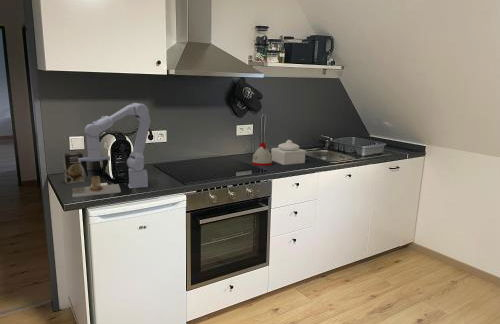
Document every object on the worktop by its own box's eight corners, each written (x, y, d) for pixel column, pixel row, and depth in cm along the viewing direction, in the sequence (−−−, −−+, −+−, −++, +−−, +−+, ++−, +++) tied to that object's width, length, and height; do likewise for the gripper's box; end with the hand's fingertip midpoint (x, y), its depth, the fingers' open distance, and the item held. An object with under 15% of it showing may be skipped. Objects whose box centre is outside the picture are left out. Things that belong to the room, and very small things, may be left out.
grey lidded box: (271, 160, 278) (271, 138, 275) (292, 158, 286) (293, 137, 283) (283, 165, 263) (284, 142, 260) (305, 163, 271) (306, 140, 268)
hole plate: (118, 187, 204) (118, 183, 203) (120, 193, 194) (120, 189, 193) (72, 191, 195) (72, 187, 194) (72, 198, 185) (72, 193, 185)
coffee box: (67, 184, 207) (64, 155, 204) (64, 182, 212) (62, 153, 209) (85, 182, 212) (82, 153, 209) (82, 179, 217) (80, 151, 214)
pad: (107, 183, 210) (107, 182, 210) (108, 187, 203) (108, 186, 203) (91, 185, 207) (91, 184, 207) (91, 189, 200) (91, 188, 200)
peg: (100, 191, 197) (99, 175, 195) (101, 193, 193) (100, 177, 192) (92, 191, 195) (91, 176, 194) (92, 194, 192) (91, 178, 190)
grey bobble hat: (257, 166, 257) (257, 144, 254) (249, 162, 270) (249, 141, 267) (275, 165, 263) (276, 143, 260) (266, 161, 275) (267, 140, 272)
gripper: (108, 146, 196) (110, 172, 199) (77, 148, 190) (79, 174, 193) (109, 148, 190) (111, 175, 193) (77, 150, 184) (79, 178, 187)
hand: (95, 175), depth 192 cm, fingers open, 7 cm apart
